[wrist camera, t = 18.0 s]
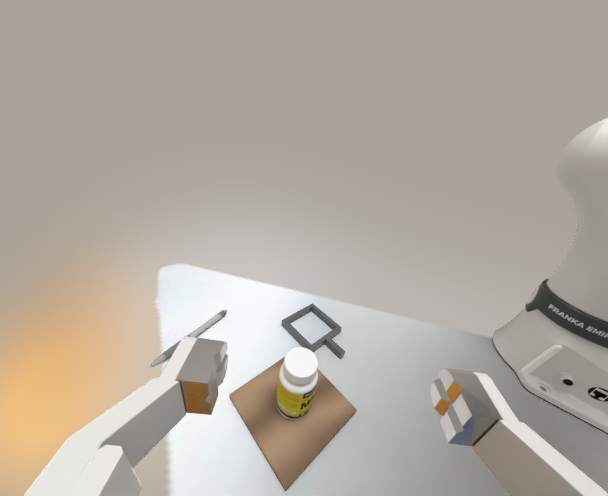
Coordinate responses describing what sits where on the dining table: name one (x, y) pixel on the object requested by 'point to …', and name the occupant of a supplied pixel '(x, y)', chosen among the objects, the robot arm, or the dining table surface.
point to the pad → (290, 422)
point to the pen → (193, 334)
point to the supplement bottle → (297, 383)
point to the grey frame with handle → (324, 340)
